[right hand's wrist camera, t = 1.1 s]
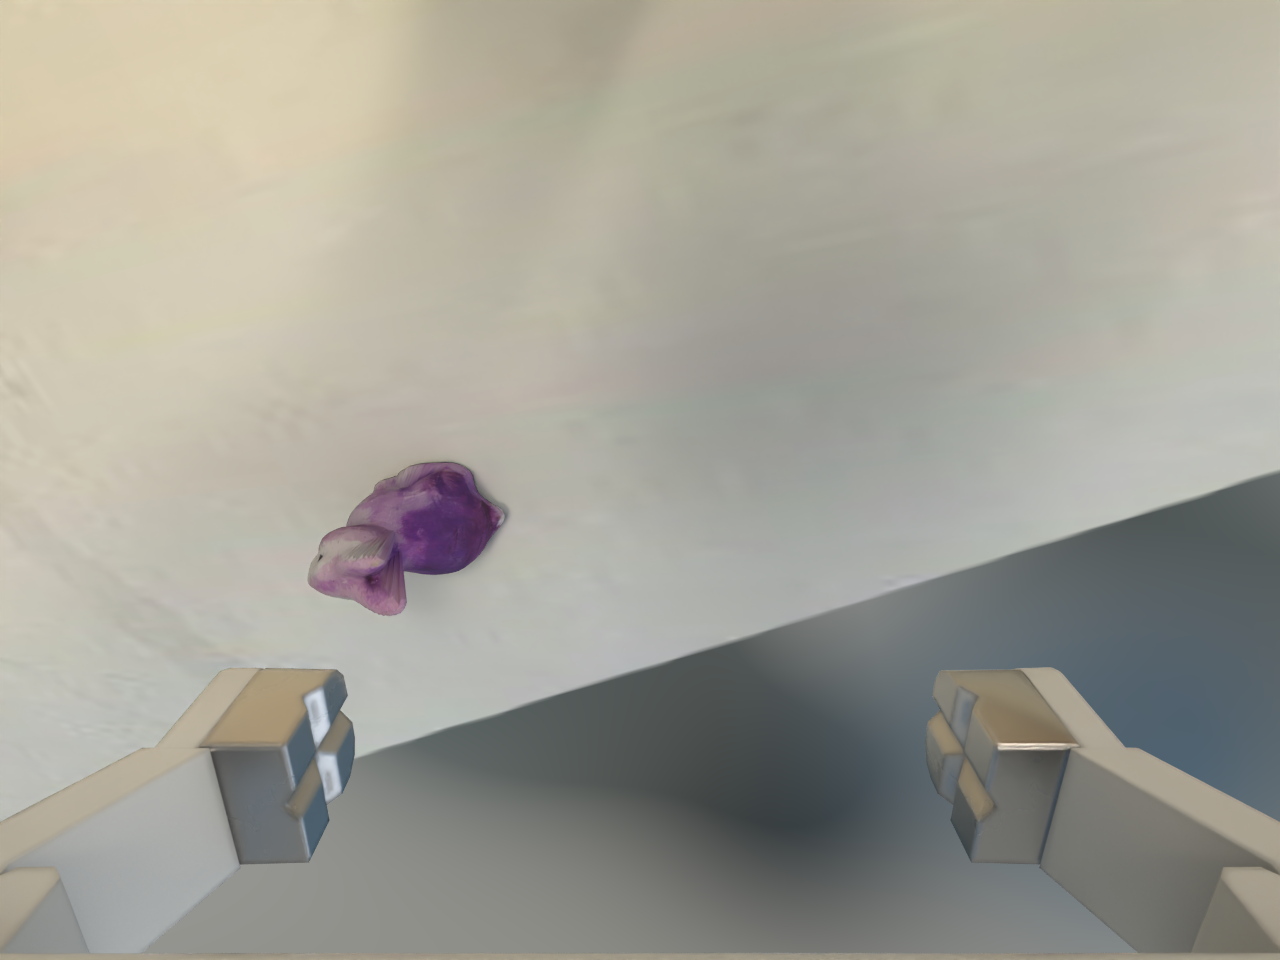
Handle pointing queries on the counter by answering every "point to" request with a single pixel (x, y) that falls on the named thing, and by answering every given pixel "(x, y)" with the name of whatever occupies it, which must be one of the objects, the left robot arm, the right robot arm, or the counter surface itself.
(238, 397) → the counter surface
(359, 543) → the figurine
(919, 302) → the counter surface
